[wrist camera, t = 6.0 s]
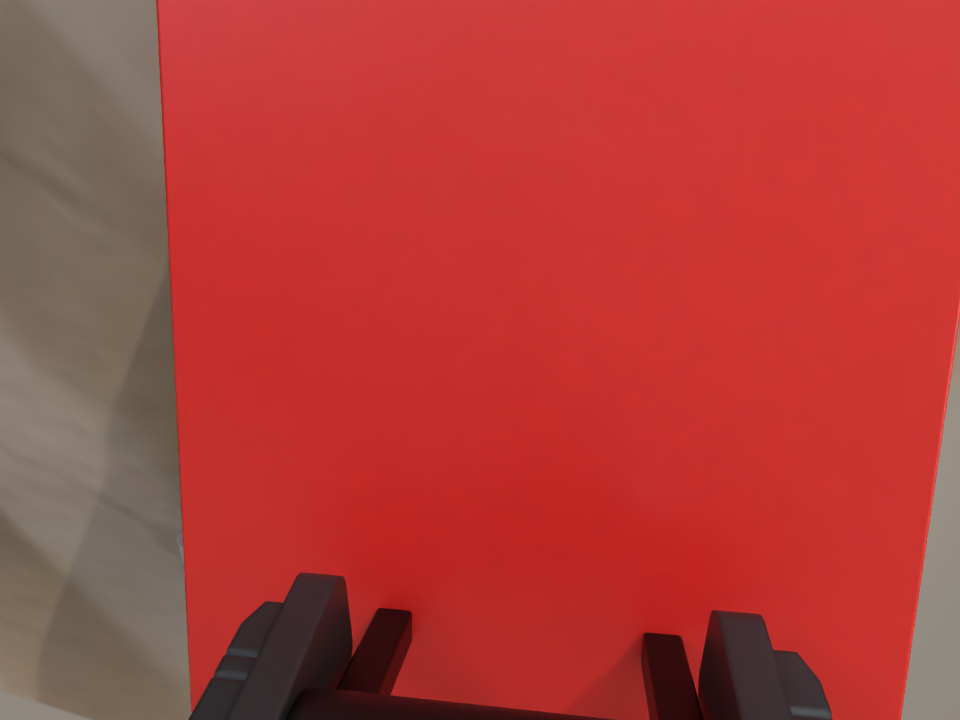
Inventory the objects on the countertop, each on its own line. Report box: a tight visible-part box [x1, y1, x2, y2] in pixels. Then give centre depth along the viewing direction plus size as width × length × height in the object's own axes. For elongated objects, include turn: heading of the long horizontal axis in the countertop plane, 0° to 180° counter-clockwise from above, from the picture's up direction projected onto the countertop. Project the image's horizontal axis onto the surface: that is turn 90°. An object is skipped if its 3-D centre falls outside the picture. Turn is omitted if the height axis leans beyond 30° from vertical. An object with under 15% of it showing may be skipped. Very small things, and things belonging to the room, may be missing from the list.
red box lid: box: [156, 0, 960, 720], centre depth 11 cm, size 16×14×6 cm
